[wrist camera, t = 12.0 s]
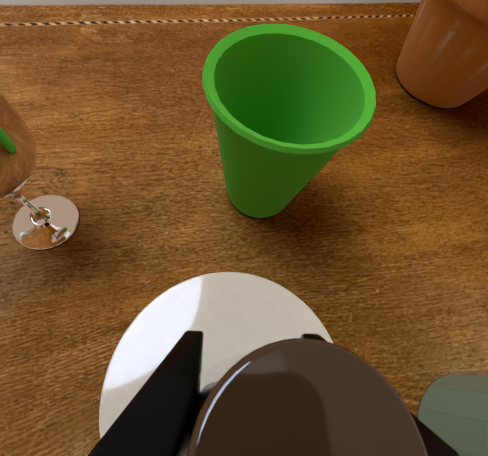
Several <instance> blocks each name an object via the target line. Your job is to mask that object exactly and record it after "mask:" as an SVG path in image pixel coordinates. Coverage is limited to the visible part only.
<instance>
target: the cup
mask: <svg viewBox="0 0 488 456" xmlns="http://www.w3.org/2000/svg"><path fill="white" fill-rule="evenodd" d="M202 75H203V89H204V92H205V94H206V97H207V100H208V102H209V104H210V106H211V107H212V108H213V111H214V117H215V123H216V129H217V135H218V141H219V147H220V153H221V159H222V165H223V171H224V177H225V182H226V188H227V193H228V196H229V199H230V201H231V202H232V204H233V205H234V206H235V207H236V208H237V209H238V210H239V211H240V212H242V213H244V214H245V215H248V216H251V217H256V218H264V217H270V216H273V215H276V214H277V213H279V212H280V211H282V210H283V209H284V208H285V207H286V206H287V205H288V204H289V202H290V201H291V200H292V199H293V198H294V197H295V196H296V195H297V194H298V193H299V192H300V191H301V190H302V189H303V188H304V187H305V186H306V184H307V183H308V182H309V181H310V180H311V179H312V178H313V177H314V176H315V175H316V174H317V173H318V172H319V171H320V170H321V169H322V168H323V167H324V165H325V164H326V163H327V162H328V161H329V160H330V159H331V158H332V157H333V156H334V155H335V154H336V153H337V152H338V151H339V150H340V149H341V148H343V147H346V146H348V145H349V144H351V143H352V142H354V141H355V140H357V139H358V138H360V137H361V136H362V135H363V133H364V132H365V131H366V129H367V128H368V127H369V126H370V124H371V122H372V119H373V116H374V112H375V109H376V98H375V88H374V85H373V83H372V80H371V77H370V75H369V73H368V72H367V70H366V69H365V67H364V66H363V64H362V63H361V62H360V61H359V60H358V59H357V58H356V57H355V56H354V55H353V54H352V53H351V52H350V51H349V50H348V49H346V48H345V47H343V46H342V45H340V44H339V43H337V42H336V41H335V40H333V39H331V38H329V37H326V36H324V35H322V34H320V33H318V32H315V31H312V30H309V29H305V28H302V27H298V26H292V25H285V24H260V25H254V26H249V27H245V28H242V29H240V30H237V31H235V32H232V33H230V34H229V35H227V36H226V37H225V38H223V39H222V40H220V41H219V42H218V43H217V44H216V46H215V47H214V48H213V49H212V51H211V52H210V53H209V55H208V57H207V59H206V62H205V65H204V68H203V71H202Z"/></svg>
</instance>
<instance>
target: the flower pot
mask: <svg viewBox="0 0 488 456" xmlns="http://www.w3.org/2000/svg"><path fill="white" fill-rule="evenodd" d="M396 74H397V77H398V79H399V81H400V83H401V84H402V86H403V87H404V88H405V89H406V90H407V91H408V92H409V93H410V94H411V95H413V96H414V97H415V98H417V99H419V100H421V101H424V102H425V103H427V104H429V105H432V106H435V107H440V108H454V107H458V106H461V105H463V104H464V103H466V102H467V101H469V100H470V99H472V98H473V97H475V96H476V95H478V94H479V93H481V92H482V91H484V90H485V89H487V88H488V0H422V1H421V3H420V6H419V8H418V11H417V13H416V15H415V18H414V20H413V23H412V25H411V28H410V30H409V33H408V35H407V38H406V40H405V43H404V45H403V48H402V51H401V53H400V56H399V58H398V61H397V64H396Z"/></svg>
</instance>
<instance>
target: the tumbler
mask: <svg viewBox="0 0 488 456" xmlns="http://www.w3.org/2000/svg"><path fill="white" fill-rule="evenodd" d="M418 419H419V420H420V421H421V422H422V423H424V424H425V425H426V426H427V427H428V428H429V429H431V430H432V431H433V432H434V433H435V434H437V435H438V436H439V437H440V438H441V439H442V440H444V441H445V442H446V443H447V444H448V445H449V446H451V447H452V448H453V449H454V450H455V451H457V453H458V455H459V456H488V372H459V373H450V374H446V375H444V376H441V377H440V378H438V379H437V380H435V381H434V382H433V383H432V384H431V385H430V386H429V387H428V389H427V390H426V392H425V393H424V395H423V397H422V400H421V403H420V406H419V411H418Z"/></svg>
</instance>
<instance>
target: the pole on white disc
mask: <svg viewBox="0 0 488 456" xmlns="http://www.w3.org/2000/svg"><path fill="white" fill-rule="evenodd" d="M189 330H191V331H202V332H203V333H204V337H203V355H202V371H201V385H200V395H199V399H198V403H197V407H196V411H195V416H194V421H193V426H192V431H191V435H190V440H189V445H188V451H187V456H428V454H427V450H426V447H425V444H424V441H423V439H422V436H421V434H420V431H419V429H418V427H417V424H416V422H415V420H414V419H413V417H412V415H411V413H410V411H409V409H408V407H407V406H406V405H405V403H404V402H403V400H402V399H401V397H400V396H399V394H398V393H397V392H396V390H395V389H394V388H393V387H392V386H391V384H390V383H389V382H388V381H387V380H386V378H385V377H384V376H383V375H381V374H380V373H379V372H378V371H377V370H376V369H375V368H374V367H373V366H372V365H370V364H369V363H368V362H367V361H365V360H364V359H363V358H361V357H360V356H358V355H356V354H355V353H353V352H351V351H350V350H348V349H345V348H343V347H341V346H339V345H336V344H333V341H332V339H331V337H330V335H329V334H328V332H327V330H326V329H325V327H324V326H323V324H322V323H321V321H320V320H319V319H318V317H317V316H316V315H315V314H314V313H313V311H312V310H311V309H310V308H309V307H308V306H307V305H306V304H305V303H304V302H303V301H302V300H301V299H300V298H298V297H297V296H296V295H294V294H293V293H292V292H290V291H289V290H287V289H286V288H284V287H282V286H280V285H279V284H277V283H275V282H272V281H270V280H268V279H265V278H262V277H259V276H255V275H252V274H246V273H239V272H218V273H209V274H205V275H201V276H196V277H194V278H191V279H188V280H186V281H183V282H181V283H179V284H177V285H175V286H173V287H171V288H169V289H168V290H166V291H165V292H164V293H162V294H161V295H159V296H158V297H156V298H155V299H154V300H153V301H152V302H151V303H149V304H148V305H147V306H146V307H145V308H144V309H143V310H142V311H141V312H140V313H139V315H138V316H137V317H136V318H135V319H134V320H133V322H132V323H131V324H130V326H129V327H128V329H127V330H126V331H125V333H124V334H123V336H122V338H121V340H120V341H119V343H118V345H117V347H116V349H115V351H114V353H113V356H112V358H111V361H110V363H109V365H108V369H107V372H106V376H105V379H104V383H103V388H102V394H101V400H100V412H99V430H100V439H101V438H102V437H103V435H104V434H105V433H106V432H107V430H108V429H109V428H110V427H111V425H112V424H113V423H114V422H115V420H116V419H117V418H118V416H119V415H120V414H121V413H122V411H123V410H124V409H125V408H126V406H127V405H128V404H129V403H130V401H131V400H132V399H133V397H134V396H135V395H136V394H137V392H138V391H139V390H140V389H141V387H142V386H143V385H144V384H145V382H146V381H147V380H148V378H149V377H150V376H151V375H152V373H153V372H154V371H155V370H156V368H157V367H158V366H159V365H160V363H161V362H162V361H163V359H164V358H165V357H166V356H167V354H168V353H169V352H170V351H171V349H172V348H173V347H174V346H175V344H176V343H177V342H178V340H179V339H180V338H181V337H182V335H183V334H184V333H185V332H186V331H189ZM304 333H308V334H319V335H320V336H321V337H323V338H324V339H325V340H326V341H327V342H326V341H323V340H317V339H310V338H300V337H301V335H302V334H304Z"/></svg>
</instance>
